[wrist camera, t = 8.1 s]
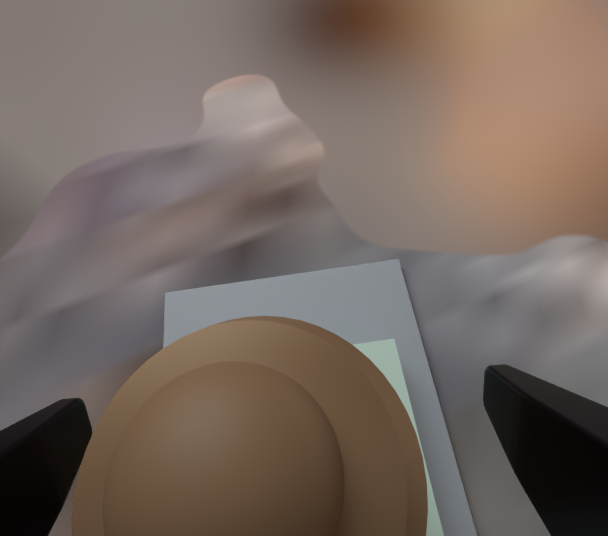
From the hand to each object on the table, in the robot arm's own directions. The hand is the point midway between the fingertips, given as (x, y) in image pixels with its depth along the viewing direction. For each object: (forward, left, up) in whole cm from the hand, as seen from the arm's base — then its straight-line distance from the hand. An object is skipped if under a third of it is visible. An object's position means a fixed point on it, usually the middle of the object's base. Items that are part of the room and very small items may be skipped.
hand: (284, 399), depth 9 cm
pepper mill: (-2, 0, -9) cm, 9 cm away
